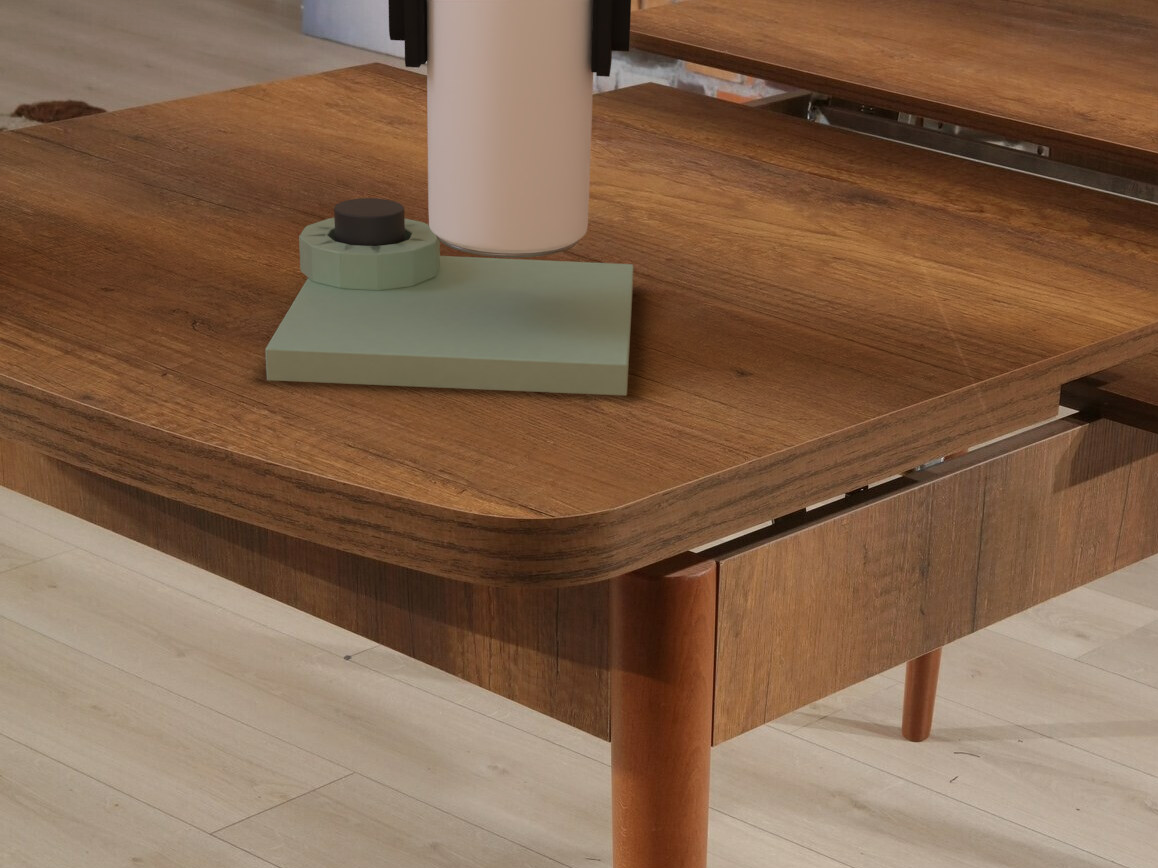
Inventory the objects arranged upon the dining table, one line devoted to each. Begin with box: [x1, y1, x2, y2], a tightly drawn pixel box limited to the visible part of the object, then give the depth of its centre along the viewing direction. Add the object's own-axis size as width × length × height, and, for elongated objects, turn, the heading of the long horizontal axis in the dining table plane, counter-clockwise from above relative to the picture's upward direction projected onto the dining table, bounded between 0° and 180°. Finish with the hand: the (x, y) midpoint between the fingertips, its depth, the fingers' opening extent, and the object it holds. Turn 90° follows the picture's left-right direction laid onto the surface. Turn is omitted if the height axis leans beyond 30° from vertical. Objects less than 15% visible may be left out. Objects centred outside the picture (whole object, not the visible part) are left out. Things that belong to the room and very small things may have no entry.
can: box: [426, 0, 594, 258], centre depth 70 cm, size 6×6×12 cm
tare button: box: [333, 197, 406, 246], centre depth 77 cm, size 3×3×2 cm
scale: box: [264, 217, 635, 397], centre depth 75 cm, size 14×14×3 cm
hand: (510, 61), depth 69 cm, fingers closed on can, 6 cm apart
